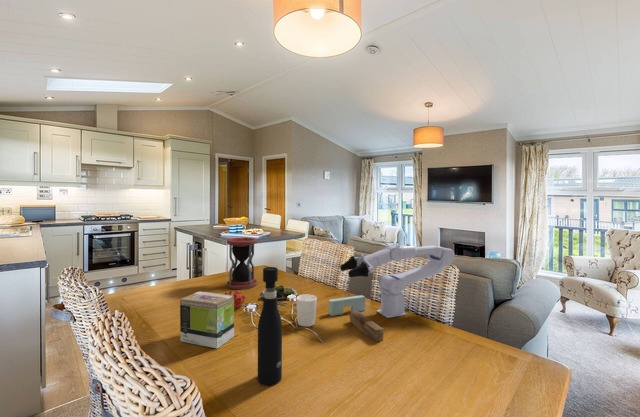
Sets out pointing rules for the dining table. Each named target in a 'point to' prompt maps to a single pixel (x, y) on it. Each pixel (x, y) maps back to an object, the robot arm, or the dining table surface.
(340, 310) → the pale green flat block
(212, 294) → the tea box
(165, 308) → the dining table surface
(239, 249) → the hourglass
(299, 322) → the white cup
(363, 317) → the walnut rail
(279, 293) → the salad plate
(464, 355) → the dining table surface
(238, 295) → the dragon fruit
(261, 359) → the black water bottle
